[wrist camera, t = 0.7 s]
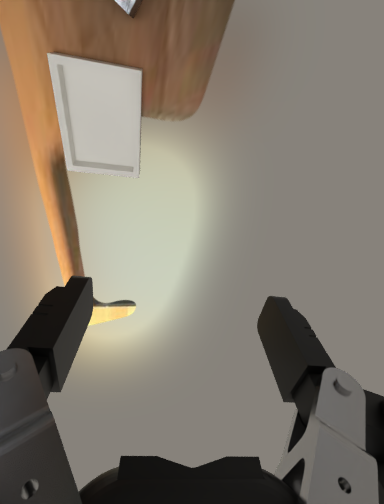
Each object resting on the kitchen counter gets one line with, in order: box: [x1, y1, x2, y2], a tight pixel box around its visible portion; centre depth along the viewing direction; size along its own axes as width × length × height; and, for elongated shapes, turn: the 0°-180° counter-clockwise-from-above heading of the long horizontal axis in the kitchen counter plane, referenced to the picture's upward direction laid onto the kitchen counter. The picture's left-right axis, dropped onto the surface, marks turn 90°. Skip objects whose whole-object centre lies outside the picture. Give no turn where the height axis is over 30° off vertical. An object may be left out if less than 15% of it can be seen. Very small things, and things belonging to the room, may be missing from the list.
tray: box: [47, 52, 142, 178], centre depth 31 cm, size 13×10×2 cm
